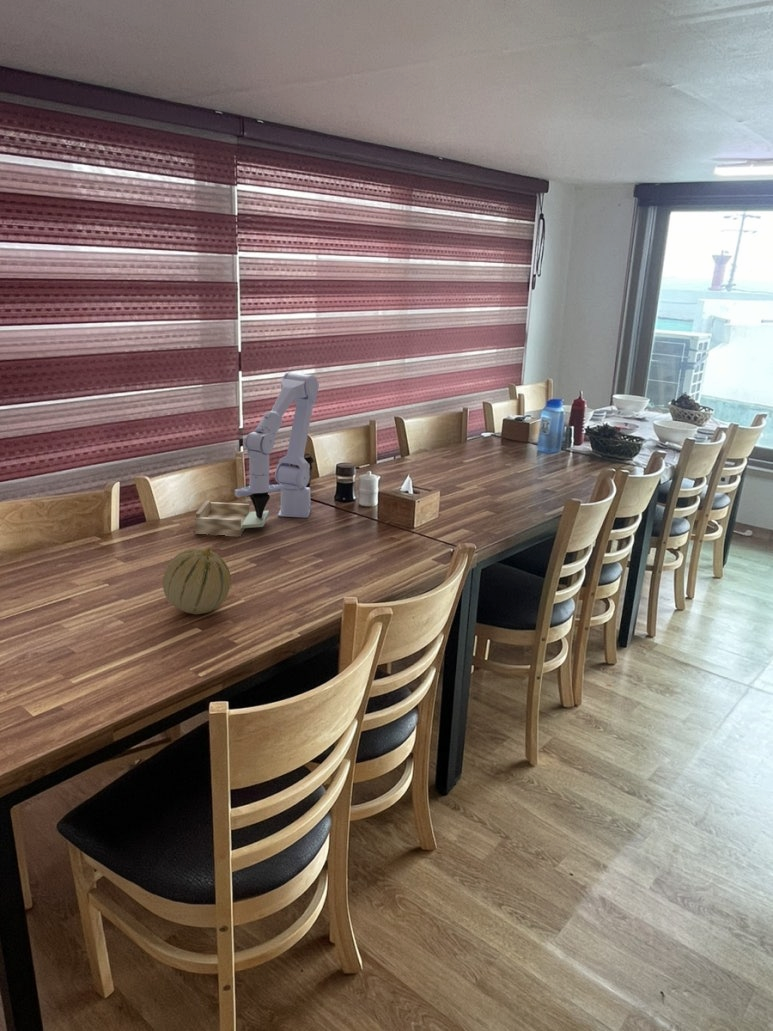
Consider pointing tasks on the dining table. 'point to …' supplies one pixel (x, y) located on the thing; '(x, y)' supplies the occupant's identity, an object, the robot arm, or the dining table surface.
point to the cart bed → (221, 518)
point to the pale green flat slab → (255, 520)
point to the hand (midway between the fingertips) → (259, 517)
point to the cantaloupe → (196, 581)
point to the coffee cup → (310, 461)
